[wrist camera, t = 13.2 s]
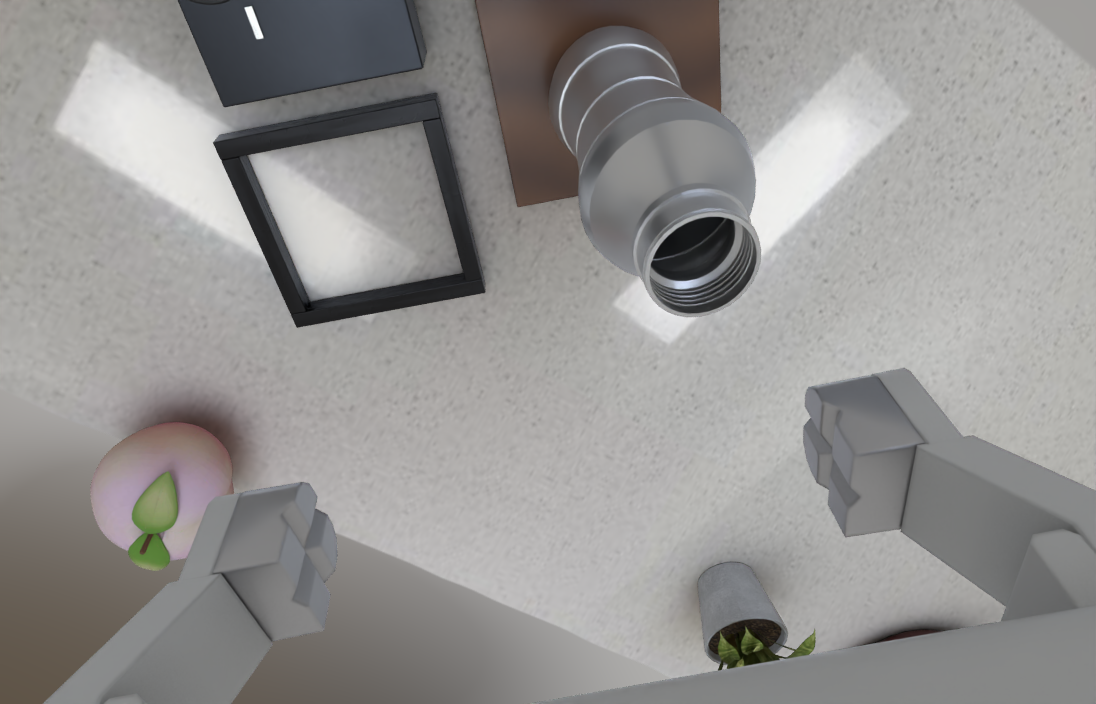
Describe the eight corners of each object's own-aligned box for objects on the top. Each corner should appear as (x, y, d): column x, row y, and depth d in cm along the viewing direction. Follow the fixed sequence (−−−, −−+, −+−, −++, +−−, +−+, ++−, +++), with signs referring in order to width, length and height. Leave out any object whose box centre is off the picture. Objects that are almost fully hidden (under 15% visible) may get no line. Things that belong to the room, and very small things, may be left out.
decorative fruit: (119, 379, 48) (46, 491, 40) (250, 394, 49) (205, 505, 41) (134, 479, 53) (72, 596, 45) (252, 490, 54) (212, 605, 46)
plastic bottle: (521, 109, 39) (554, 309, 22) (589, -13, 35) (685, 118, 19) (620, 165, 41) (715, 383, 25) (692, 56, 38) (856, 225, 22)
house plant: (847, 538, 63) (944, 723, 50) (775, 630, 71) (843, 812, 58) (699, 516, 60) (762, 708, 47) (641, 615, 68) (680, 805, 54)
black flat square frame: (218, 134, 39) (212, 142, 38) (436, 92, 39) (436, 99, 38) (300, 317, 46) (296, 328, 45) (485, 283, 46) (485, 293, 45)
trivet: (471, -22, 35) (470, -19, 35) (712, -70, 35) (717, -68, 34) (517, 201, 43) (517, 207, 42) (719, 163, 42) (722, 168, 42)
